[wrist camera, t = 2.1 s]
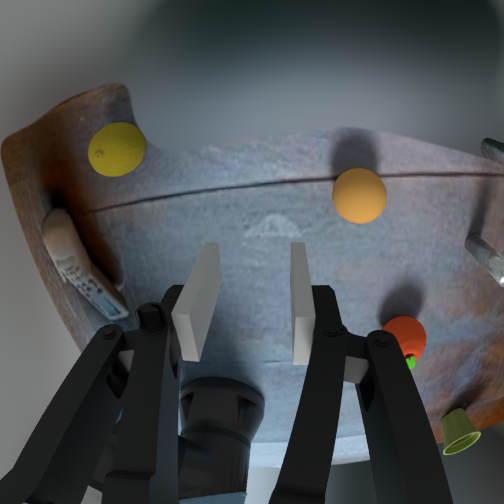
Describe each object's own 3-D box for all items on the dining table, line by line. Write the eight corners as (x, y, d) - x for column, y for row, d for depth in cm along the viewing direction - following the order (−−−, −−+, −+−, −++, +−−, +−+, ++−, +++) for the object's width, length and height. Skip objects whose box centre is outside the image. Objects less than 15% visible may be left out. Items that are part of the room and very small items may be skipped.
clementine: (422, 334, 40) (437, 367, 34) (381, 352, 42) (392, 387, 36) (411, 297, 38) (429, 331, 31) (367, 319, 40) (378, 355, 33)
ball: (327, 212, 33) (335, 232, 28) (329, 162, 31) (338, 173, 26) (375, 212, 33) (390, 232, 28) (379, 164, 30) (396, 176, 25)
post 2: (463, 251, 34) (497, 287, 26) (467, 233, 32) (503, 267, 25) (476, 250, 33) (511, 286, 25) (481, 233, 32) (518, 266, 24)
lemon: (162, 159, 32) (130, 176, 25) (121, 172, 33) (84, 192, 26) (149, 112, 30) (114, 117, 22) (108, 128, 31) (68, 138, 23)
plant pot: (441, 408, 50) (452, 440, 42) (475, 399, 49) (487, 427, 41) (429, 429, 54) (437, 458, 46) (461, 420, 53) (470, 447, 45)
